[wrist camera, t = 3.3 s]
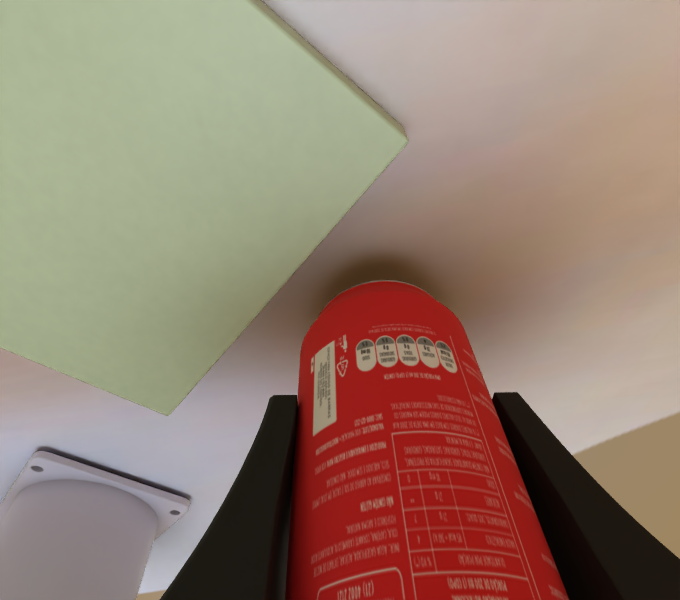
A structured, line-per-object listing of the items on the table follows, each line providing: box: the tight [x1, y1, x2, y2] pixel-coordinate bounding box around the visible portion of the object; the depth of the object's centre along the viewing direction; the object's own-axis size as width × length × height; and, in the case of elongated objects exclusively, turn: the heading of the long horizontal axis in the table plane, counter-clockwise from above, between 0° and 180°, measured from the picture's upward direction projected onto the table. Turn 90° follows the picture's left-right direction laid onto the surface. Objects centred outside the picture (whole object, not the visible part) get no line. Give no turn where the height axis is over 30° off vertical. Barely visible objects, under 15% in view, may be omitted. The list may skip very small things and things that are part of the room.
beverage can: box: [285, 280, 569, 600], centre depth 10 cm, size 5×5×12 cm
